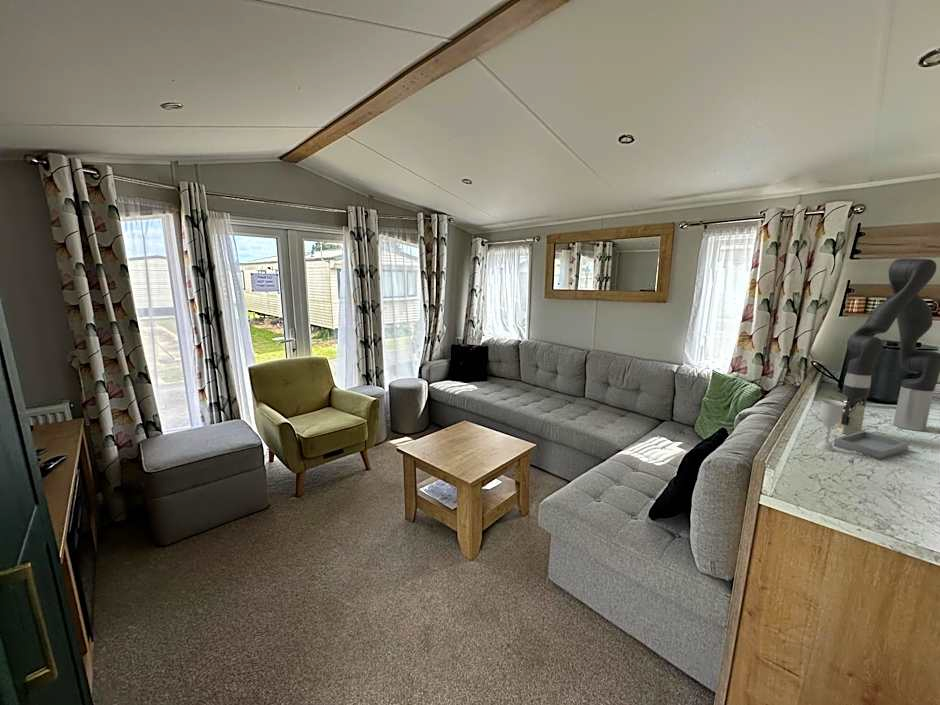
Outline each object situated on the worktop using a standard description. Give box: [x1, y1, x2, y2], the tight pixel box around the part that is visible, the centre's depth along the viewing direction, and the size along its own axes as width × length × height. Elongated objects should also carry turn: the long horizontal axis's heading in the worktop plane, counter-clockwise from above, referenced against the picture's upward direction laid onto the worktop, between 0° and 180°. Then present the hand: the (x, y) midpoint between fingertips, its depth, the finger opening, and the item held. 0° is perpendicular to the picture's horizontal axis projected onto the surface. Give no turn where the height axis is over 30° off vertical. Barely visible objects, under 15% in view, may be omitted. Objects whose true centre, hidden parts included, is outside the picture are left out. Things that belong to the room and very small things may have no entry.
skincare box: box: [836, 405, 866, 435], centre depth 158 cm, size 6×4×12 cm
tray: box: [833, 430, 910, 461], centre depth 144 cm, size 20×13×3 cm, turn 113°
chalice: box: [815, 398, 846, 452], centre depth 142 cm, size 7×7×18 cm
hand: (849, 423), depth 159 cm, fingers closed on skincare box, 7 cm apart
